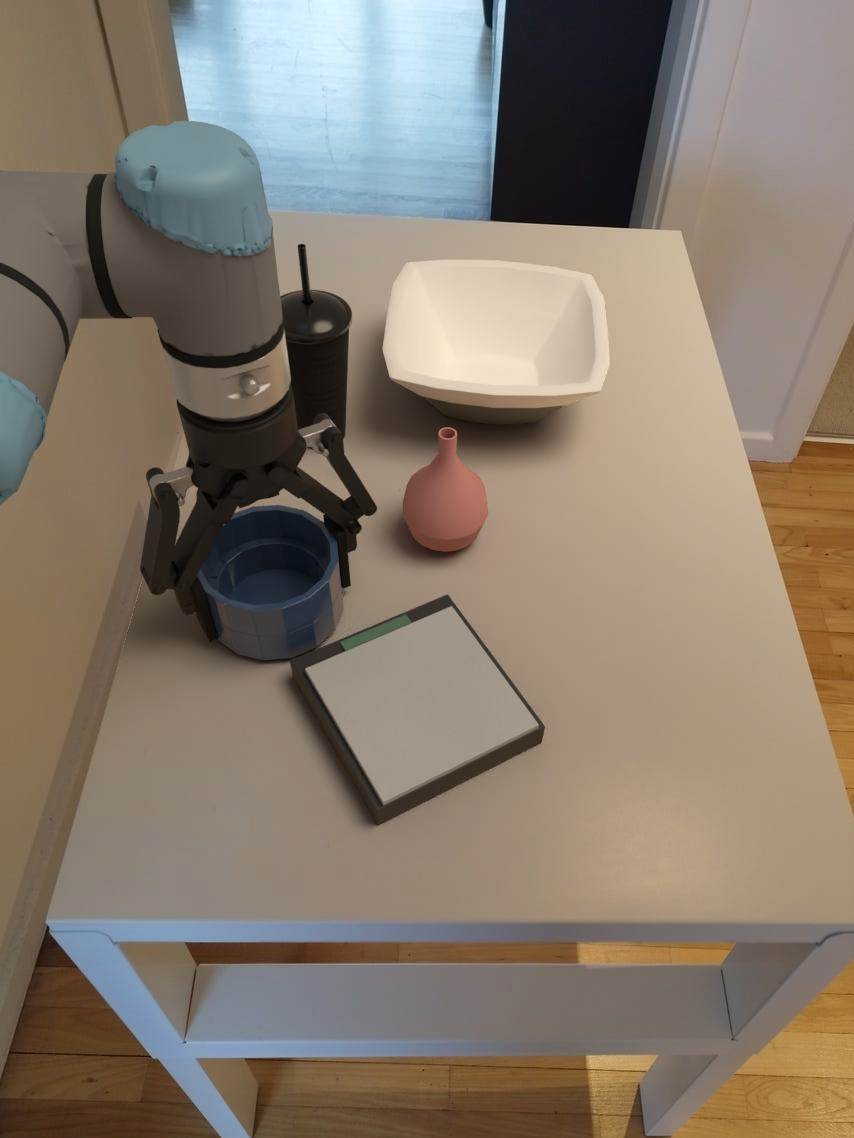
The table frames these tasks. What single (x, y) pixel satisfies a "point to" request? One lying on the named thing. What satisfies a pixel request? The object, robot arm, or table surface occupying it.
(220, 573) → the blue bowl
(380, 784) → the scale
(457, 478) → the pink bud vase
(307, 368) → the drinking cup
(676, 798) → the table surface
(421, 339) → the bowl
